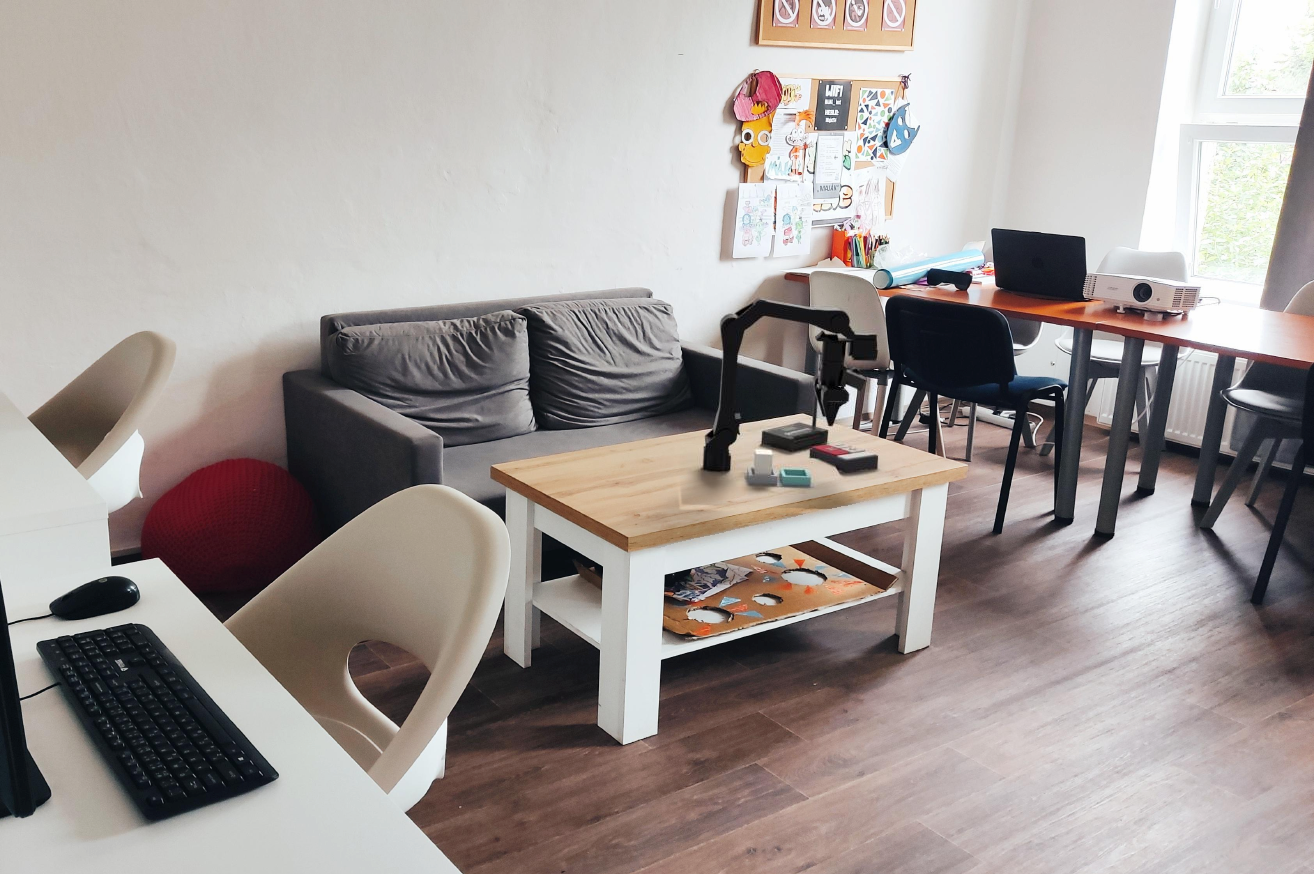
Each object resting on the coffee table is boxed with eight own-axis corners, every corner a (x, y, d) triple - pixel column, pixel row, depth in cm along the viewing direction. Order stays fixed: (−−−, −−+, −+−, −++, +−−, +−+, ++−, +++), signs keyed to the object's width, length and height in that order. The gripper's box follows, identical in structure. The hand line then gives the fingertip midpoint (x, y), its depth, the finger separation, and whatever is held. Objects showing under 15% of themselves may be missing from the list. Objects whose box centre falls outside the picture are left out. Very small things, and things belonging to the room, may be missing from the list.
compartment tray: (746, 489, 261) (747, 477, 261) (743, 476, 271) (744, 465, 270) (813, 491, 262) (814, 479, 261) (808, 478, 271) (808, 467, 270)
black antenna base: (795, 454, 293) (799, 392, 288) (756, 443, 302) (760, 382, 298) (841, 442, 306) (846, 382, 301) (802, 431, 316) (806, 374, 311)
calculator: (841, 441, 294) (879, 452, 281) (840, 456, 295) (878, 468, 282) (809, 445, 288) (846, 457, 276) (808, 461, 289) (845, 474, 277)
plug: (754, 481, 264) (756, 454, 262) (753, 476, 268) (754, 449, 266) (770, 482, 264) (772, 454, 262) (769, 477, 268) (771, 449, 266)
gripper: (873, 368, 257) (867, 432, 261) (859, 353, 275) (853, 413, 279) (826, 366, 257) (820, 430, 261) (815, 351, 275) (810, 411, 279)
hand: (827, 421), depth 270 cm, fingers open, 9 cm apart
